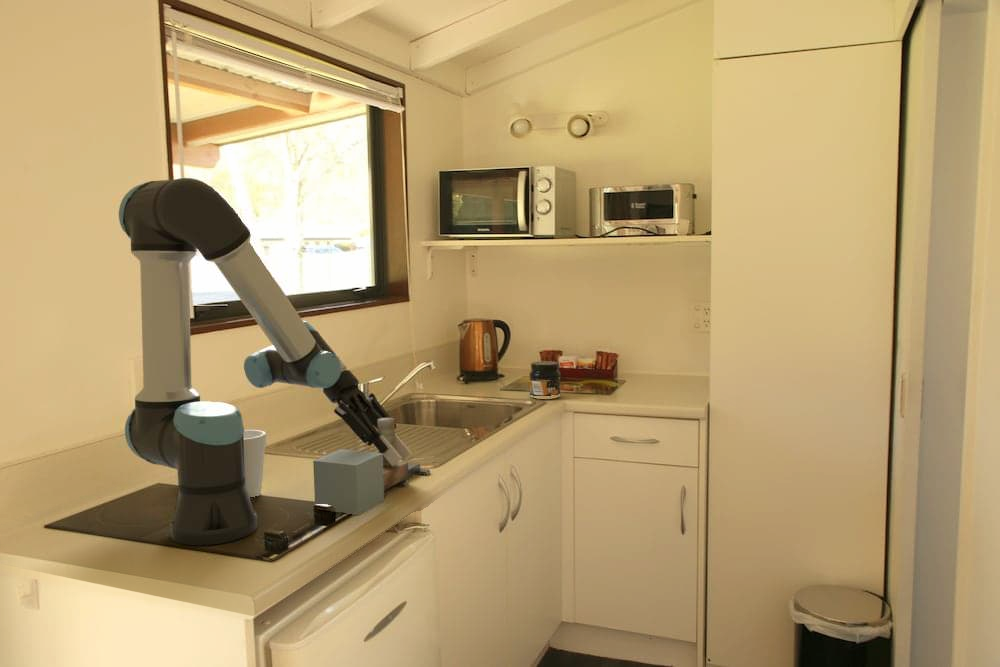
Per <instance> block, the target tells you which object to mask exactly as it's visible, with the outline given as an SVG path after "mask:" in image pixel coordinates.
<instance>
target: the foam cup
mask: <svg viewBox="0 0 1000 667" xmlns="http://www.w3.org/2000/svg"><path fill="white" fill-rule="evenodd" d="M243 436H244V460H245V483H246V489H247V492H248V494H249V497H254V498H256V497H255V496H257V497H259V496H260V495H261V494H262V488H263V475H264V474H263V473H264V463H265V453H266V445H267V434H266V431H264V430H260V429H244V435H243Z"/></svg>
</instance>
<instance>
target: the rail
mask: <svg viewBox="0 0 1000 667" xmlns="http://www.w3.org/2000/svg"><path fill="white" fill-rule="evenodd" d="M429 472H430V473H431V470H430V469H427V468H421V463H419V462H408V474H406V479H404V480H402V481H400V482H399V483H397V484H395V485H393V486H391V487H389V488H387V489H385V490H384V499H386V495H387V493H385V492H386V491H388V490H389V489H391V488H393V487H399V488H400V487H401V488H406V487H407V486H410V481H409V480H408V479H410V478H412V477H414V476H415V474H416V475H419V474H425V475H424V476H427V475H428V474H427V473H429ZM430 473H429V474H430ZM426 474H427V475H426ZM413 475H414V476H413ZM411 476H412V477H411Z"/></svg>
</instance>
